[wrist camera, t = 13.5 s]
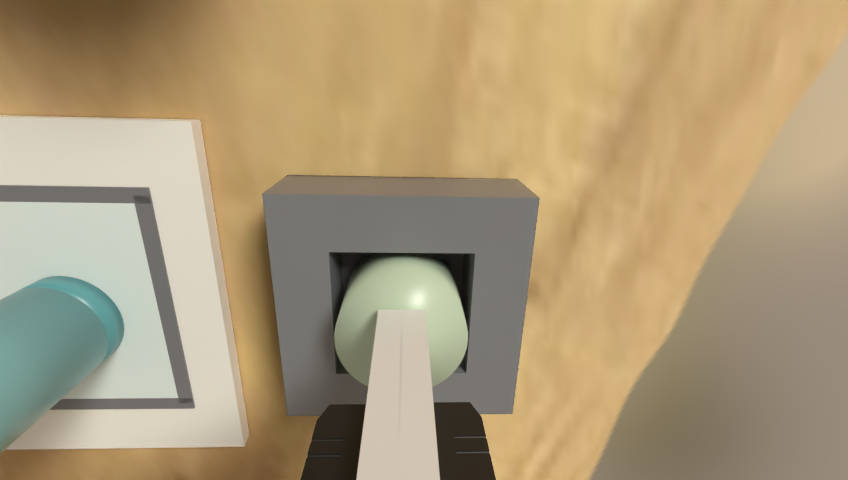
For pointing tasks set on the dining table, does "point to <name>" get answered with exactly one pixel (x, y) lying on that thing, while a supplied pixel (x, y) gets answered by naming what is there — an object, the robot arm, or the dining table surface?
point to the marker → (50, 346)
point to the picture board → (126, 275)
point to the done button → (401, 290)
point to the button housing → (399, 233)
